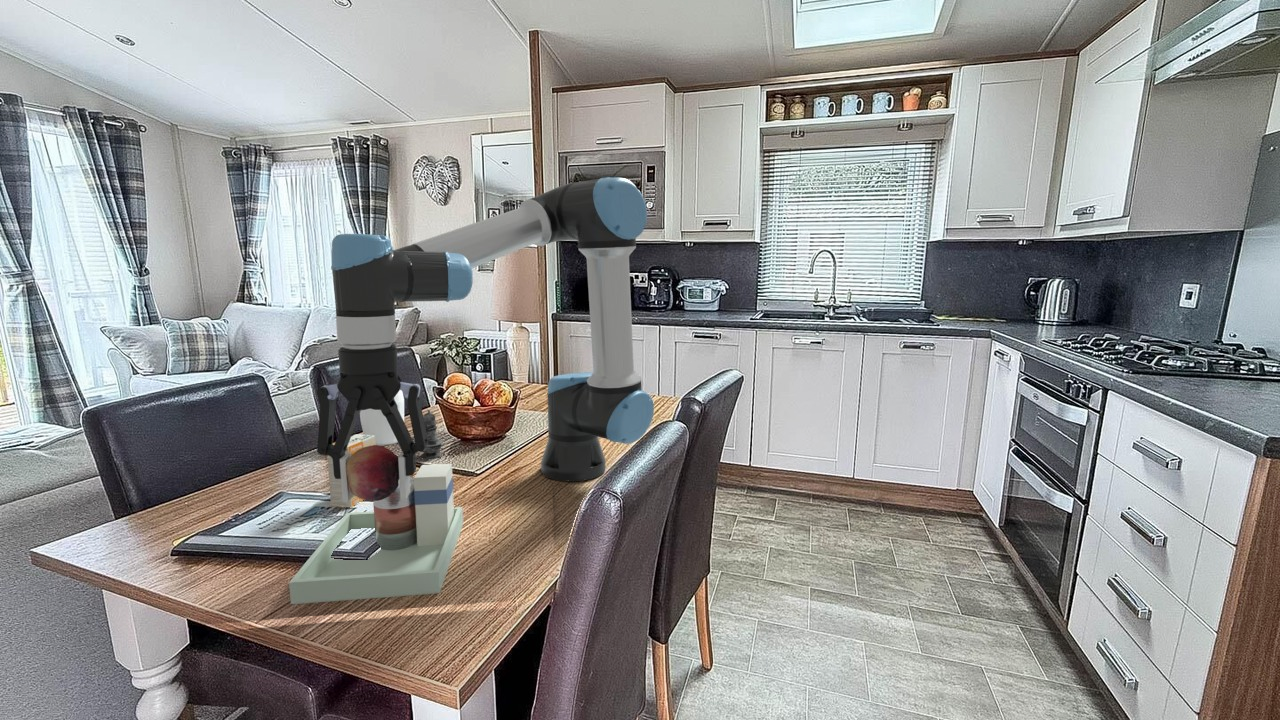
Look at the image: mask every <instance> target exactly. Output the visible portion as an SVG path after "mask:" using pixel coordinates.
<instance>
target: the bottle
mask: <svg viewBox="0 0 1280 720" xmlns="http://www.w3.org/2000/svg"><path fill="white" fill-rule="evenodd" d="M394 400H395V402H396V404H397V406H398V411H399V413H400V415H401V417H402V419H403V421H404V422H405V397H404V394H403V392H402V391H401V390H399V392H398V393H397V395H396V396H395V397H394ZM359 418H360V419H359V420H360V425H361V430H362V432H363V434H362V435H374V436H375V442H376V445H378V446H383V447H385V446H390V445H394V444H398V441H397V439H396V437H395V435H394V433H393V431H392V429H391V427H390V425H389V423H388V421H387V419H386V417H385V416H384V415H383V414H382V412H381V410H374V409H366V410H361V411H360V413H359Z"/></svg>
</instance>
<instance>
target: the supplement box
mask: <svg viewBox="0 0 1280 720" xmlns="http://www.w3.org/2000/svg"><path fill="white" fill-rule="evenodd" d="M334 444H335V442H333V445H334ZM373 445H376V442H375V436H374V435H364V434H360V433H358V434H352V435H351V438H350V441H349V443H348V446H347V451H346V452H345V454H346V453H352V455H353V454H354V453H355V452H356V451H358V450H359V449H361V448H364V447H367V446H373ZM326 457H327V468H328V470H327V471H328V481H329V482H328V483H329V496H330V497H329V498H330V506H331V507H334V506H343V507H342V508H344V507H352V506H354V505H356V504H357V503H359V502H361V501H362V502H364V501H363V499H361V498H359V497H357V496H355V495H354V496H353V497H352V498H351V499H350V501H349V502H343V499H342V485H341V479H335V477H334V470H333V459H332V458H331V457H330V456H328V455H326ZM362 502H361V503H362ZM359 504H360V503H359ZM357 505H358V504H357ZM357 505H356V506H357ZM354 507H355V506H354ZM352 508H353V507H352Z"/></svg>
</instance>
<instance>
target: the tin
mask: <svg viewBox="0 0 1280 720" xmlns="http://www.w3.org/2000/svg"><path fill="white" fill-rule="evenodd" d="M398 484H399V485H398V487H397V488H396V490H395V491H394V492H393V493H392V494H391V495H390V496H388V497H387V498H384V499H382V500H379V501H373V503H372V504H373V505H372V506H373V512H374V521H375V531H376V541H377V543H378V544H379V545H380V547H381V549H382V550H400V549H404V548H408V547H410V546H412V545H414V544H416V543H417V527H416V508H415V497H414V491H415V489H414V477H413V476H412V477H411V476H410V493H409V495H408V497H407V498H406V499H401V498H400V480H398Z"/></svg>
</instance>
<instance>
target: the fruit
mask: <svg viewBox="0 0 1280 720" xmlns="http://www.w3.org/2000/svg"><path fill="white" fill-rule="evenodd" d="M398 457H399V456H398V455H397V454H395V453H394V451H392V450H391V449H389V448H387V447H385V446H378V445H373V446H367V447H364V448H361V449H359V450H358V451H356V452H355V453H354V454H353V455H352V456H351V457H350V458H349V460H348V462H347V464H346V470H347V477H348V484H349V489H350V491H351V493H352V494H353V495H355V496H357V497H359V498H361V499H363V500H364V501H367V502H374V501H379V500H382V499H384V498H387V497H388V496H390V495H391V494H392V493H393V492H394V491H395V490H396V488H397V487H398V485H399V484H398V480H399V462H398Z"/></svg>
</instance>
